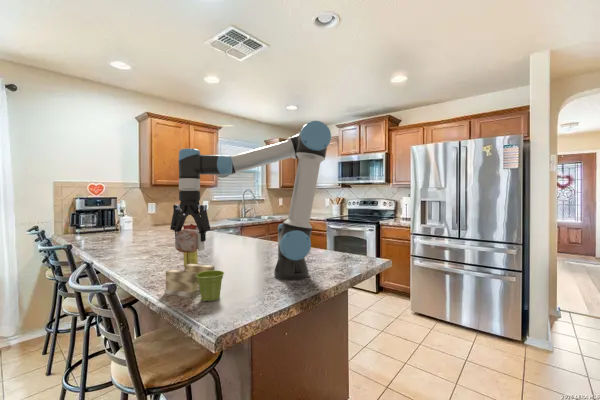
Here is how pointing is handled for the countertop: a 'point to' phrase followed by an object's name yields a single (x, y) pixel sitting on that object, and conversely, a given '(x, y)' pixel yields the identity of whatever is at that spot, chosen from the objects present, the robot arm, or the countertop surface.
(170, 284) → the stand
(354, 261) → the countertop surface
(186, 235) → the food item
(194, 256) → the sauce bottle
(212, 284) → the plant pot
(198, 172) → the robot arm
